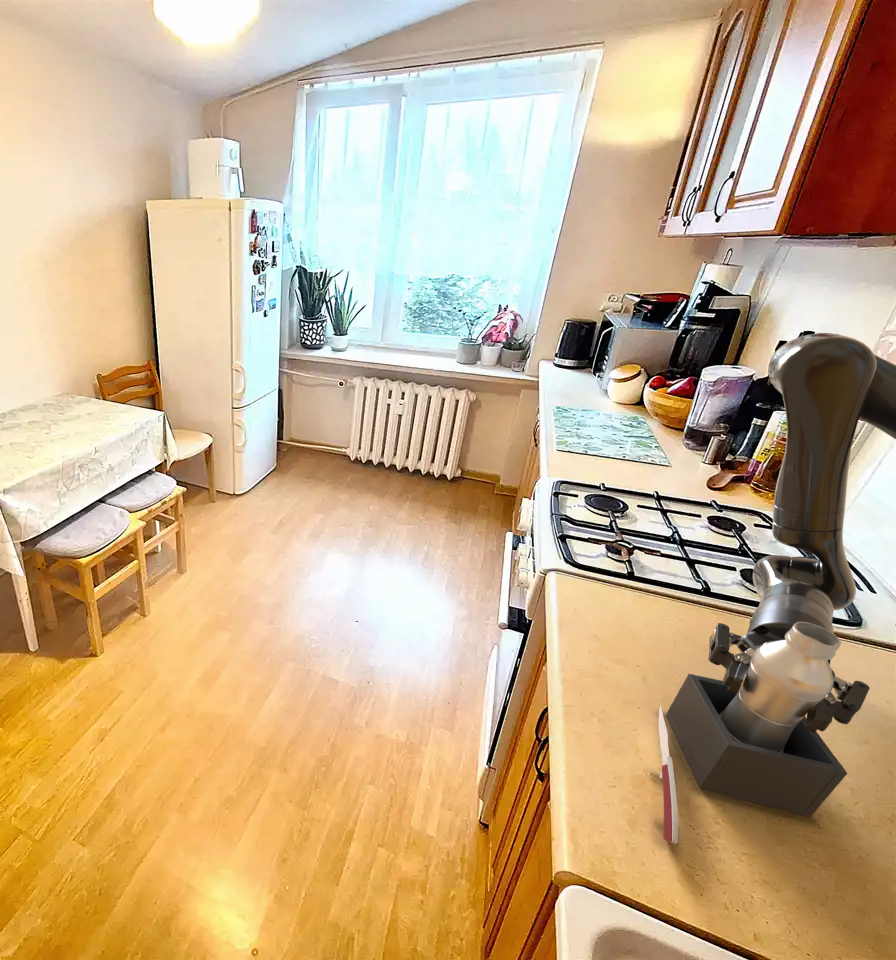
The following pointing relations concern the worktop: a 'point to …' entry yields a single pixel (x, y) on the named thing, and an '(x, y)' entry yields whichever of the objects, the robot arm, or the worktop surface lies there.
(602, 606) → the worktop surface
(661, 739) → the knife
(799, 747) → the bin
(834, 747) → the worktop surface
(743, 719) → the plastic bottle
